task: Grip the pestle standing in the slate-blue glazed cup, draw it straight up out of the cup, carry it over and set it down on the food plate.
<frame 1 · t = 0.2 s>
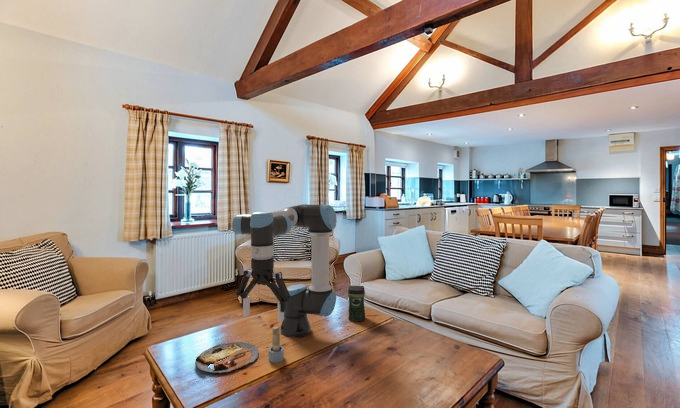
hand: (263, 318, 108), 28 cm above the table, fingers open, 13 cm apart
coffee jar: (356, 319, 175), on the table
food plate: (227, 360, 133), on the table
pestle: (276, 358, 132), point 1 cm above the table, touching cup
cup: (276, 360, 132), on the table
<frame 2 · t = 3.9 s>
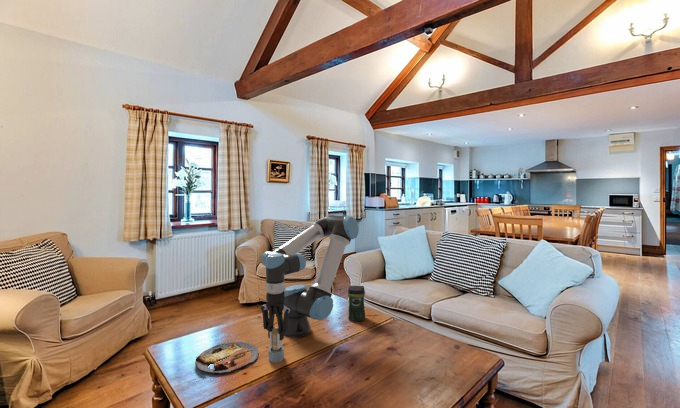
hand: (276, 346, 132), 6 cm above the table, fingers closed on pestle, 3 cm apart
pestle: (276, 358, 132), point 1 cm above the table, touching cup, gripper
everything else where it was.
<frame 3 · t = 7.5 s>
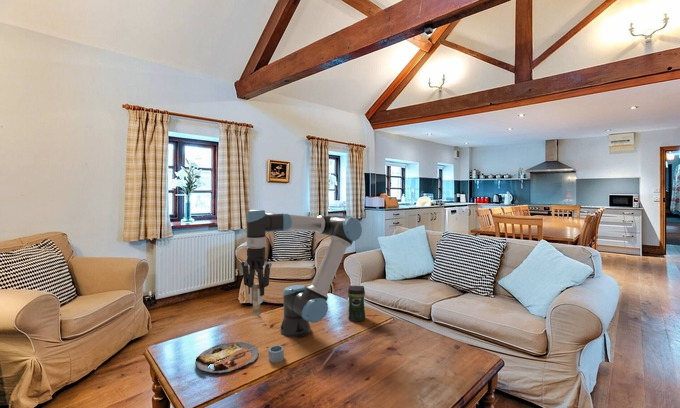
hand: (256, 302, 131), 25 cm above the table, fingers closed on pestle, 3 cm apart
pestle: (256, 314, 131), point 20 cm above the table, touching gripper
everything else where it was.
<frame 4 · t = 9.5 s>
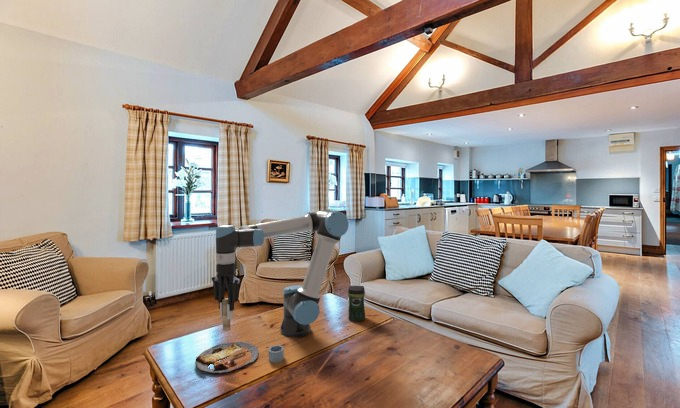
hand: (226, 317, 132), 18 cm above the table, fingers closed on pestle, 3 cm apart
pestle: (226, 329, 133), point 13 cm above the table, touching gripper
everything else where it was.
when the fingers open (10 cm above the table, at t = 11.2 s): pestle drops 3 cm, resting on food plate.
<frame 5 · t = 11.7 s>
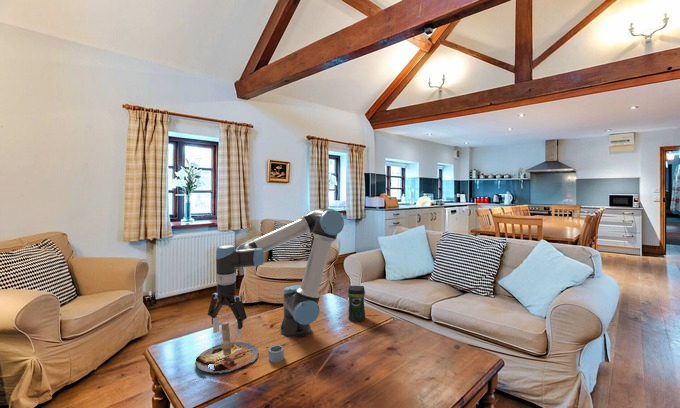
hand: (227, 333, 133), 11 cm above the table, fingers open, 11 cm apart
food plate: (227, 361, 133), on the table, touching pestle
pestle: (227, 353, 133), point 2 cm above the table, touching food plate
everything else where it was.
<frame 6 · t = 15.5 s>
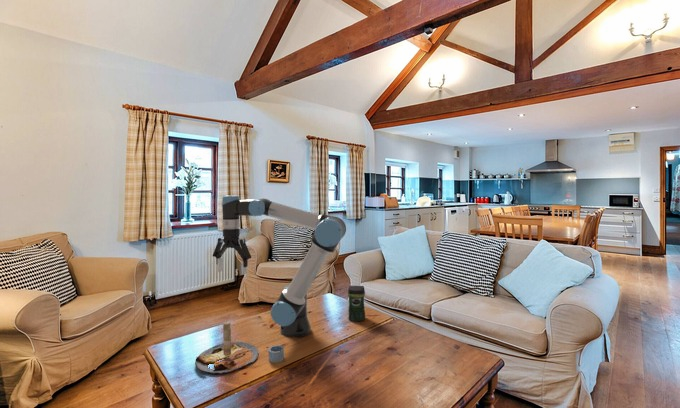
hand: (232, 272, 149), 33 cm above the table, fingers open, 13 cm apart
nothing on the table moved.
at the end: pestle inside the target area on the food plate (0.4 cm from its centre), point 3.0 cm above the food plate's base; the gripper is holding nothing; pestle touching food plate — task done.
